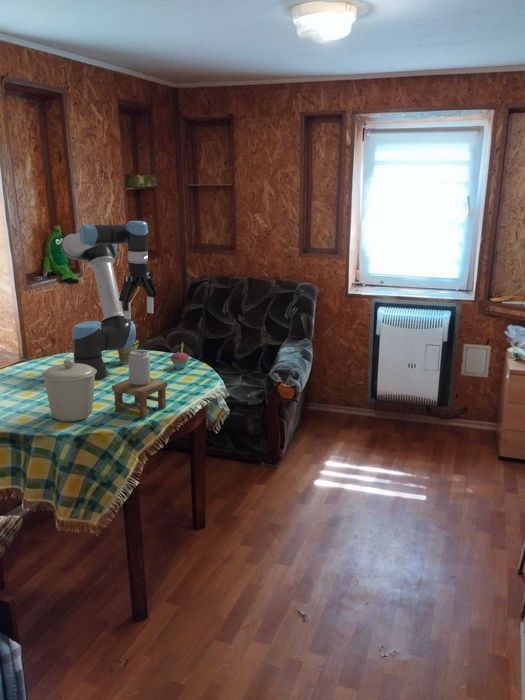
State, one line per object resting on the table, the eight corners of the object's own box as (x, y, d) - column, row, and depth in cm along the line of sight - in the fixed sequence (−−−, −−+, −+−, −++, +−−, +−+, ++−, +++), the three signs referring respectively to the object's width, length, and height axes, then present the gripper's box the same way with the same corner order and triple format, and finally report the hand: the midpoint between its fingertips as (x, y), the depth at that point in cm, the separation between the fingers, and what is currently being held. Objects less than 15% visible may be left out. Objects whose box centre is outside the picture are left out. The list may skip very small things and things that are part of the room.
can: (154, 381, 213) (153, 350, 210) (143, 387, 206) (142, 355, 203) (136, 379, 215) (135, 348, 212) (125, 385, 208) (124, 353, 205)
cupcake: (179, 364, 272) (179, 339, 269) (193, 367, 267) (193, 342, 264) (166, 367, 265) (166, 342, 262) (180, 371, 261) (179, 345, 258)
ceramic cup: (127, 366, 266) (126, 345, 264) (111, 362, 272) (111, 341, 269) (147, 360, 277) (146, 339, 274) (132, 356, 282) (131, 336, 280)
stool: (113, 411, 210) (112, 385, 208) (137, 400, 222) (137, 375, 220) (144, 419, 204) (143, 392, 202) (167, 407, 216) (167, 381, 214)
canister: (37, 426, 195) (33, 366, 190) (53, 407, 213) (49, 352, 208) (92, 426, 196) (89, 367, 191) (103, 407, 214) (101, 352, 209)
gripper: (123, 266, 211) (125, 322, 217) (166, 260, 232) (166, 311, 238) (108, 264, 215) (110, 320, 221) (151, 258, 236) (151, 309, 242)
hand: (139, 315), depth 229 cm, fingers open, 13 cm apart
